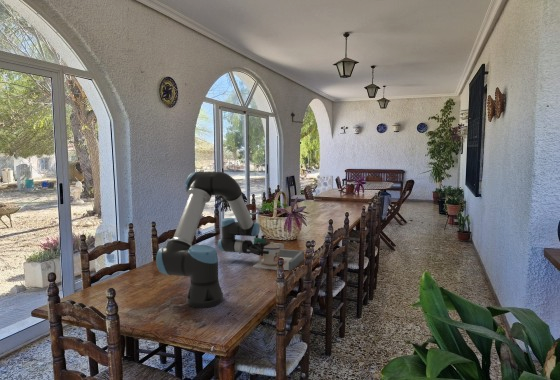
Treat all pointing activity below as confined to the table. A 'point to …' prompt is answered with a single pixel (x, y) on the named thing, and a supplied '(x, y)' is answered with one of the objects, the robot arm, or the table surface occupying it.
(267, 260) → the teacup with lid
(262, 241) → the binoculars
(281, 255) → the tray
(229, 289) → the table surface
